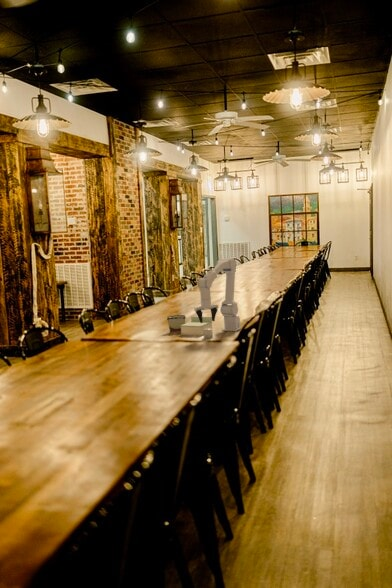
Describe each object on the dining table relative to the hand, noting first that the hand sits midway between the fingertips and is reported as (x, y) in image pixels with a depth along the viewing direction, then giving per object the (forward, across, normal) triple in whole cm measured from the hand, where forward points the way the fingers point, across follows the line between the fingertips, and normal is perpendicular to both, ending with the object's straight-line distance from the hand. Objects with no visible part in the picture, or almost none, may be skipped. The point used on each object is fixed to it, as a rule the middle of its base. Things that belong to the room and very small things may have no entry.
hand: (207, 321), depth 323 cm
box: (+9, 0, -18) cm, 20 cm away
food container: (+10, +7, -31) cm, 33 cm away
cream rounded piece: (+9, 0, 0) cm, 9 cm away
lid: (+4, 0, -18) cm, 18 cm away
